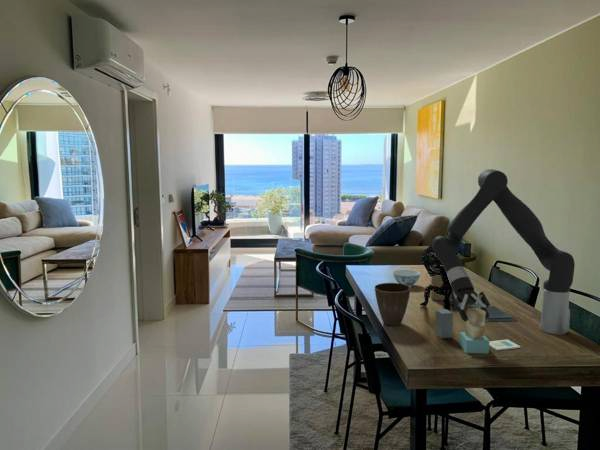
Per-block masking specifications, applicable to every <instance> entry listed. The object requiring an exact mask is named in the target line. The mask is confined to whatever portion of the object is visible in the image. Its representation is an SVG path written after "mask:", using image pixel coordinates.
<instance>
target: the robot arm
mask: <svg viewBox="0 0 600 450" xmlns="http://www.w3.org/2000/svg"><path fill="white" fill-rule="evenodd" d="M477 183H478V186H479V189H478V191H477V193H476V194H475V196H474V197H472V199H471V200H470V201H469V202H468V203H467V204H466V205H465V206H463V208H461V210H460V211H459V212H458V213H457V214H456V215H455V217H454V218H453V219H452V220H451V222H450V224H448V226H447V230H448V232H449V233H448V236H447V237H446V236H443V235H438V236H436V237H434V239H433V240H432V250H433V252H434V254H435V255H436V258H438V259H439V260H440V261H441V263H442V264H443V267H444V269H445V272H446V274H447V277H448V280H449V283H450V285H451V287H452V294H451V295H450V297H449V301H448V302H449V303H450V307H451V310H452V312H457V313H458V314H459V317H460V319H461V320H462V321H463V322H466V321H467V320H468V317H467V311H466V309H464V308H465V307H468V306H470V307H478V308H480V309H482V310H483V311H485V312H486V314H485V320H486V319H488V318H489V313H488V311H487V308H488V307H489V306H491V303H490V302H489V300H488V297H487V296H486V294H485V293H484V291H481V292H478V293H477V292H476V291H475V287H474V285H473V283H472V280H471V278H470V275H469V273H468V272H467V270H466V268H465V267H464V265H463V262H462V260H461V259H460V257H459V256H458V255H457V254H455V253H457V252H458V249H460V248H459V247H460V245H461V244H462V241H463V238H464V236H465V235H466V234H467V232H468V231H469V230H470V228H471V227H472V225H473V224H474V223H475V222H476V220H477V219H478V218H479V216H480V215H481V214H482V213H483V211H485V209H486V208H487V207H488V206H489V205H490V204H492V202H494V203H495V204H496V206H497V207H498V208H499V210H500V212H501V213H502V214H503V216H504V217H505V219H506V220H507V221H508V223H509V224H510V225H511V226H512V228H513V229H514V230H515V232H516V233H517V234H518V235H519V236H520V237H521V239H522V240H523V241H524V242H525V243H526V244H527V245H528V246H529V247H530V248H531V249H532V251H533V252H534V255H535V256H536V257H537V258H538V261H539V262H540V264H541V265H542V266H543V268H544V269H546V270H547V271H549V275H548V279H547V280H544V282H543V284H542V286H543V287H542V298H541V299H542V300H541V303H542V304H541V316H540V317H541V319H540V330H541V331H543V332H545V333H546V334H547V333H548V334H551V335H557V336H558V335H566V334H567V333H569V332H570V321H571V320H570V319H571V309H570V307H569V305H570V291H571V287H572V285H573V282H574V274H575V267H576V266H575V264H576V263H575V260H574V256H573V255H572V254H571V253H569V252H567V251H564V250H561V249H558V248H557V247H556V246H555V245H554V244H553V243H552V242H551V241H550V240H549V238H548V237H547V235H546V233H545V231H544V227H543V224H542V223H541V221H540V219H539V218H538V216H536V214H535V213H534V212H533V210H532V209H531V208H530V207H529V206H528V205H526V204H525V203H524V202H523V201H522V200H521V199H519V198H518V197H517V196H516V195H515V194H514V193H513V192H512V191H511V189H510V188H509V186H508V183H509V182H508V177H507V175H506V174H505V173H504V172H503V171H500V170H497V169H490V168H489V169H486V170H482V171H481V173H480V174H479V175H478V178H477ZM458 302H459V304H458Z"/></svg>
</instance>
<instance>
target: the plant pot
mask: <svg viewBox="0 0 600 450" xmlns="http://www.w3.org/2000/svg"><path fill="white" fill-rule="evenodd" d="M374 293H375V298H376V299H375V300H376V303H377V308H378V310H379V311H378V312H379V314H380V317H381V320H382V323H383V324H384V325H385V326H388V325H390V326H389V327H397V326H398V325H399V326H400V325H401V324H402V322H403V319H404V317H405V314H406V311H407V308H408V304H409V299H410V293H411V287H409V286H407V285H404V284H399V283H398V282H384V283H377V284H376V285H375V286H374Z"/></svg>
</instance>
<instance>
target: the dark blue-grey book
mask: <svg viewBox="0 0 600 450" xmlns="http://www.w3.org/2000/svg"><path fill="white" fill-rule="evenodd" d="M467 308H468V307H465V310H467ZM469 308H478V307H475V306H470V307H469ZM487 311H488V313H489V318H488V319H486V320H485V323H510V322H511V323H514V322H518V320H517V319H515V318H514V317H513V316H511V315H509V314H508V313H506V312H505V311H503V310H501V309H500V308H498V307H496V306H493V305H490V306H489V307H488V308H487Z"/></svg>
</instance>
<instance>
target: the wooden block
mask: <svg viewBox="0 0 600 450" xmlns="http://www.w3.org/2000/svg"><path fill="white" fill-rule="evenodd" d="M430 279H431V280H430V286H431V285H434V286H438V287H441V285H442V284H443V282H442V279H441V276H440V275H435V276H431V277H430ZM430 298H431V300H433V301H438V302H439V301H442V302H443V300H444V296H443V295H438V294H436V293H435V292H434V291H431V290H430Z"/></svg>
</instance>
